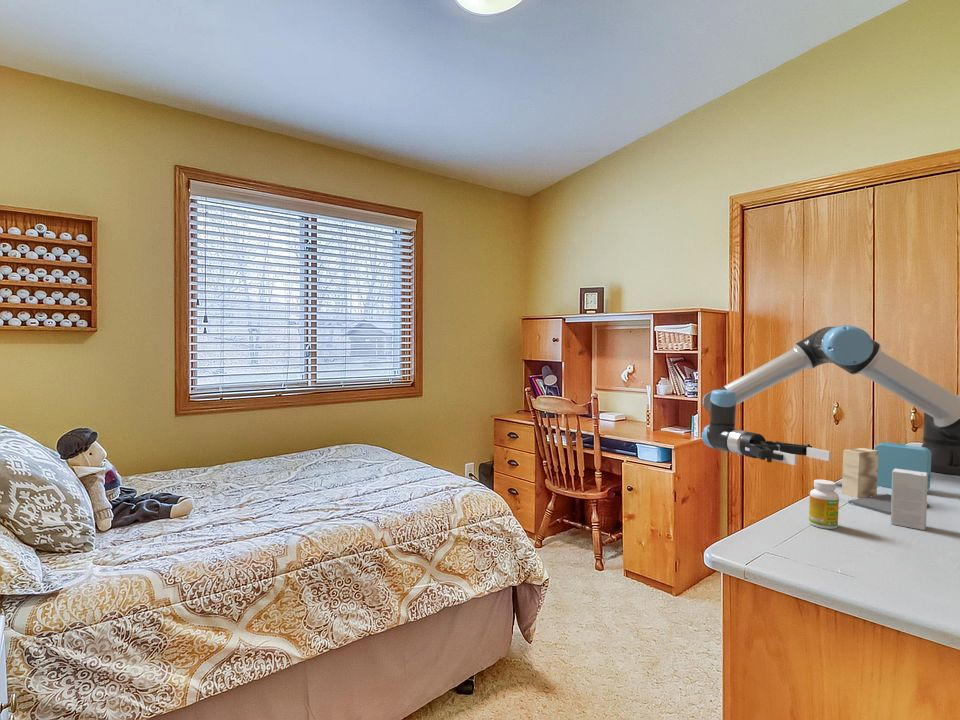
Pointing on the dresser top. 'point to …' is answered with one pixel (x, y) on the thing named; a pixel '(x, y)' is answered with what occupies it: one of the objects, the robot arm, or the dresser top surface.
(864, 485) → the maple block
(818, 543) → the dresser top surface
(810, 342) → the robot arm
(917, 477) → the skincare box
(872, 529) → the dresser top surface
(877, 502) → the charcoal mat
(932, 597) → the dresser top surface
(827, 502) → the supplement bottle
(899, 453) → the data package
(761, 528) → the dresser top surface
